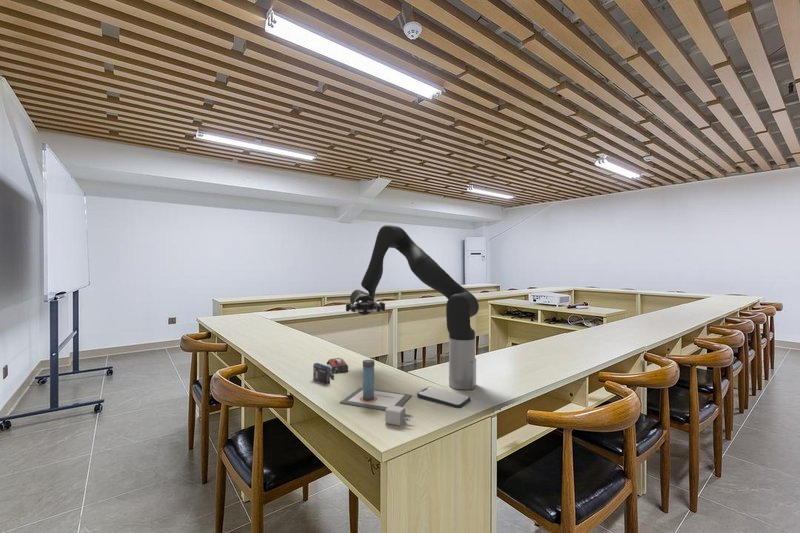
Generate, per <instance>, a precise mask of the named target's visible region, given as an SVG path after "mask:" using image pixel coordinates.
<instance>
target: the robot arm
mask: <svg viewBox="0 0 800 533" xmlns="http://www.w3.org/2000/svg"><path fill="white" fill-rule="evenodd" d="M389 249H395V250H397V251H398V252H399V253H400V254H401V255H402V256H404V258H405V259H406V261H407V264H408V266H409V268H410V270H411V272H412V273H413V274H414V276H416V277H417V279H419V280H420V281H421V282H422V283H423V284H425V285H426V286H427V287H429V288H431V289H433V290H435V291H436V292H438V293H439V294H441V295H443V296H444V297H445V298H446V299H447V302H446V307H445V315H446V316H445V318H446V329H447V332H448V386H449V387H451V388H453V389H455V390H463V391H464V390H465V391H466V390H474V389H475V387H476V385H477V358H476V331H475V330H474V329H473V328H472V326H471V318H472V317H474V316H476V315H477V314H478V312H479V308H480V306H479V301H478V299H477V298H476V297H475V296H476V295H475V296H474V294H472V293H471V292H470V291H468V290H467V289H466V288H465V287H463V286H462V285H461V284H460V283H458V282H457V281H456V280H455V279H454V278H452V276H450V274H449V273H447V271H445V269H443V267H441V266H440V264H438V263H437V261H435V259H433V258H432V257H431V256H430V255H429V254H427V252H425V251H424V249H423V248H421V247H420V246H419V245H417V243H415V241H414V240H413V239H412V238H411V237H410V236H409V234H408V233H407V232H406V231H405V229H403V227H399V226H396V225H391V224H384V225H383V226H382V227H380V228H379V231H378V232H377V235H376V239H375V242H374V246H373V250H372V254H371V257H370V260H369V264H368V266H367V269H366V271H365V273H364V275H363V278H362V280H361V282H360V285H361V287H362V288H363V289H364V290H366V291H367V292H366V291H363V290H360V289H355V290H353V291H352V292H351V294H350V298H349V301H350V302H349V301H348V302H346V304H345V311H346V312H352V313H358V314H359V315H362V316H366V315H369V314H371V313H372V312H378V313H380V312H381V311H384V312H385V311H386V303H385V302H383V301H380V302H379V303H377V301H375V297H376V296H375V294H376V291H377V288H378V285H379V284H380V281H381V279H382V277H383V274H384V272H383V271H384V260H385V256H386V253H387V252H388V250H389Z"/></svg>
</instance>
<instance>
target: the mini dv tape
mask: <svg viewBox="0 0 800 533" xmlns="http://www.w3.org/2000/svg"><path fill="white" fill-rule="evenodd" d="M312 367H313V368H312V369H313V372H312V373H313V376H312V378H313V379H312V380H314V381H317V382H319V383H323V384H325V385H328V384H330V383H331V375H330V367H329V366H327V365H325V364H322V363H319V362H315V363H313V366H312Z"/></svg>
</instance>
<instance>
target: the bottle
mask: <svg viewBox="0 0 800 533" xmlns="http://www.w3.org/2000/svg"><path fill="white" fill-rule="evenodd" d="M375 362H376V361H375V360H373V359H363V360H362V388H363V400H365V401H371V400H374V390H375Z"/></svg>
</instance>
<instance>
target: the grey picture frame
mask: <svg viewBox="0 0 800 533" xmlns="http://www.w3.org/2000/svg"><path fill="white" fill-rule="evenodd" d="M411 397H413V395H412V394H408V393H403V392H402V393H401V392H395V391H389V390H388V391H387V390H381V389H380V390H379V389H374V400H371V401H365V400H363V387H360V388H358V389H356V390H355V391H354V392H352V393H351V394H350V395H348V396H347V397H345V398H344V399H342V400H341V401H339V403H340V404H343V405H349V406H354V407H359V408H360V407H361V408H365V409H366V408H367V409H372V410H378V411H386V409H387V408H388V407H389V406H390V405H393V406H399V407H403V406H404V405H405V404H406V403H407V402H408V401H409V400H410V399H411Z"/></svg>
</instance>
